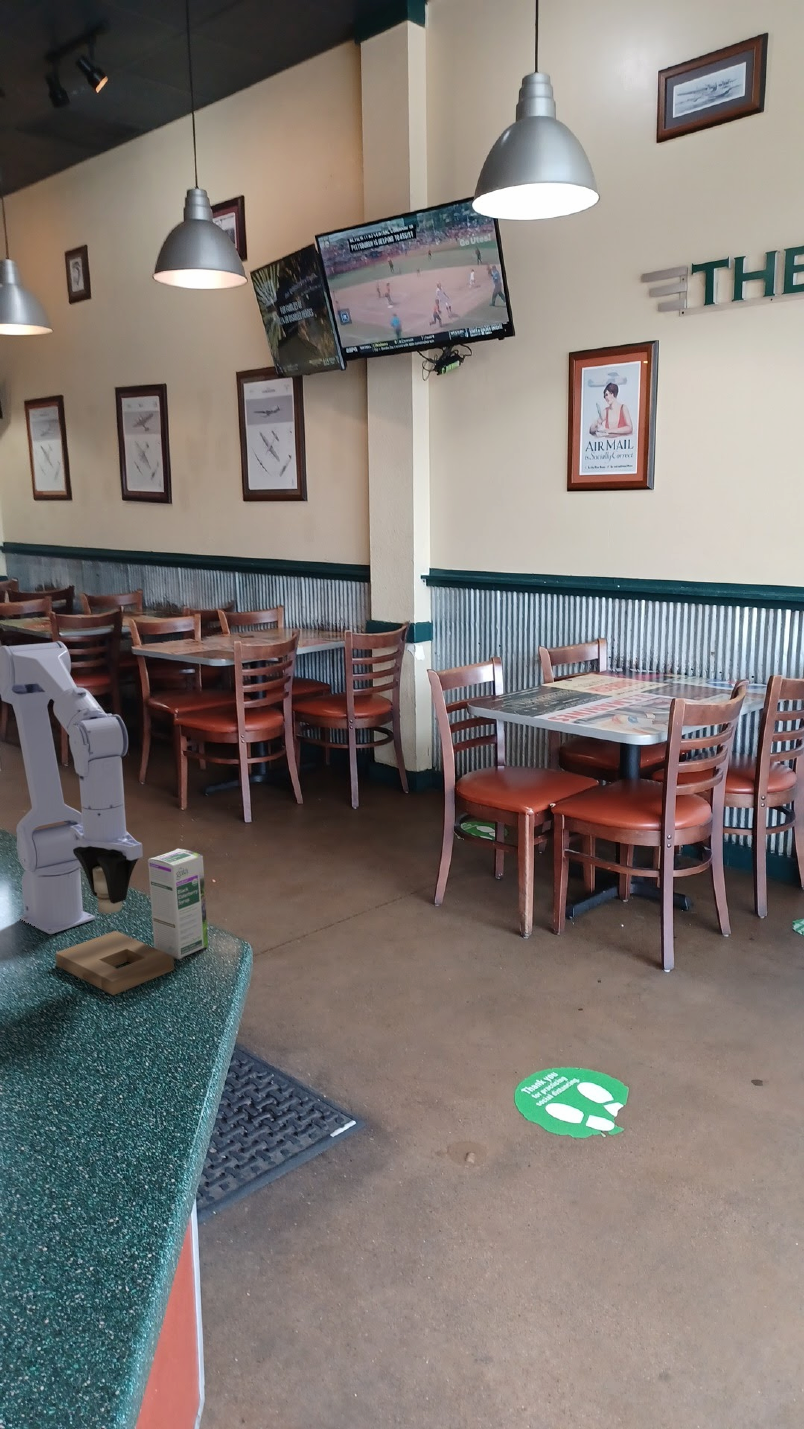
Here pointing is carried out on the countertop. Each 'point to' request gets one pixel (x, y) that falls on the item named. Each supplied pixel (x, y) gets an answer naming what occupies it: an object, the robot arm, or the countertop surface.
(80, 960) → the board
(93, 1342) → the countertop surface
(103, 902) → the peg
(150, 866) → the syrup box
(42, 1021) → the countertop surface
